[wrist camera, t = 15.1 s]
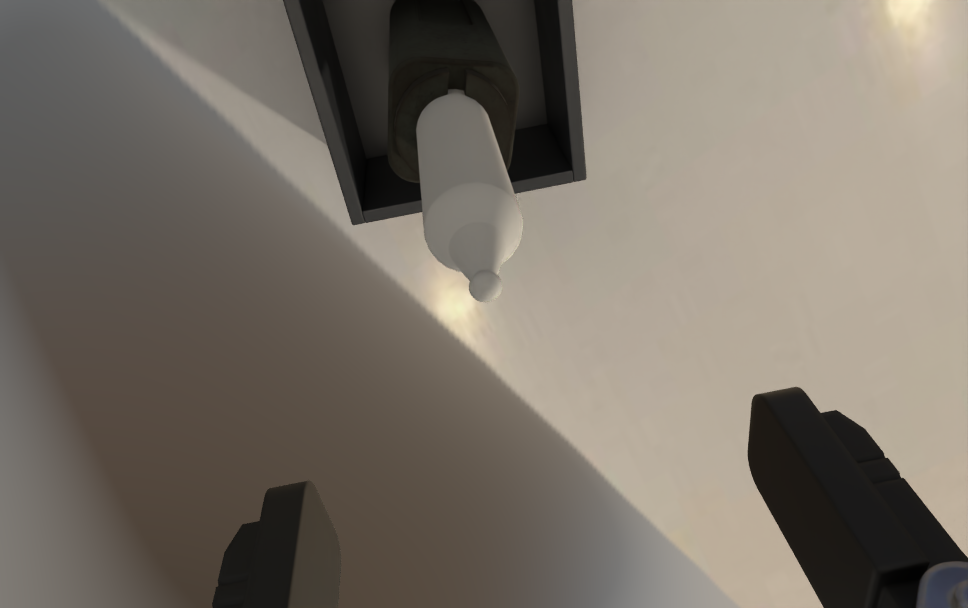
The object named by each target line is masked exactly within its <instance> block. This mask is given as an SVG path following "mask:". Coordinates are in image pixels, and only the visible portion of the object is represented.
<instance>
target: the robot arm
mask: <svg viewBox="0 0 968 608" xmlns="http://www.w3.org/2000/svg"><path fill="white" fill-rule="evenodd" d="M748 461H749V467H750V471H751V474H752V477H753V480H754V482H755V484H756V486H757V488H758V490H759V492H760V494H761V496H762V497H763V499H764V501H765V503H766V505H767V506H768V508H769V510H770V512H771V514H772V515H773V517H774V519H775V521H776V522H777V524H778V526H779V528H780V530H781V531H782V533H783V535H784V537H785V539H786V540H787V542H788V544H789V546H790V548H791V549H792V551H793V553H794V555H795V557H796V558H797V560H798V562H799V564H800V566H801V567H802V569H803V571H804V573H805V575H806V576H807V578H808V580H809V582H810V584H811V585H812V587H813V589H814V591H815V593H816V594H817V596H818V598H819V600H820V602H821V603H822V605H823V607H824V608H968V558H967V556H966V555H965V554H964V553H963V552H962V551H961V550H960V548H959V547H958V546H957V545H956V543H955V542H954V541H953V540H952V538H951V537H950V536H949V535H948V533H947V532H946V531H945V529H944V528H943V527H942V526H941V524H940V523H939V522H938V521H937V519H936V518H935V517H934V516H933V514H932V513H931V512H930V511H929V509H928V508H927V507H926V506H925V504H924V503H923V502H922V500H921V499H920V498H919V497H918V495H917V494H916V493H915V492H914V490H913V489H912V488H911V487H910V485H909V484H908V483H907V482H906V480H905V479H904V478H901V477H900V473H899V471H898V470H897V469H896V468H895V466H894V465H893V464H892V463H891V461H890V460H889V459H888V458H885V456H884V453H883V451H882V450H881V449H880V448H879V446H878V445H877V444H876V442H875V441H874V440H873V439H872V437H871V436H870V435H869V434H868V432H867V431H866V430H865V429H864V428H863V427H861V426H860V425H858V424H857V423H855V422H854V421H852V420H851V419H849V418H848V417H846V416H845V415H843V414H841V413H840V412H838V411H837V410H834V411H829V412H824V413H820V412H819V411H818V409H817V408H816V406H815V405H814V404H813V402H812V401H811V400H810V398H809V397H808V396H807V394H806V393H805V392H804V391H803V390H802V389H801V388H799V387H793V388H788V389H783V390H777V391H772V392H767V393H762V394H757V395H755V396H754V397H753V399H752V406H751V418H750V430H749V442H748ZM340 571H341V553H340V545H339V540H338V536H337V533H336V530H335V528H334V526H333V524H332V521H331V520H330V517H329V515H328V513H327V511H326V509H325V506H324V504H323V502H322V500H321V498H320V495H319V493H318V491H317V489H316V487H315V485H314V484H313V482H312V481H305V482H300V483H295V484H289V485H284V486H279V487H274V488H270V489H268V490H267V492H266V494H265V497H264V502H263V507H262V512H261V517H260V521H258V522H253V523H247V524H243V525H242V526H241V528H240V529H239V531H238V532H237V534H236V535H235V537H234V538H233V540H232V542H231V543H230V545H229V546H228V548H227V549H226V551H225V553H224V557H223V561H222V566H221V570H220V574H219V578H218V584H219V585H218V587H216V591H215V595H214V599H213V603H212V606H213V608H338V599H339V585H340V573H341V572H340Z"/></svg>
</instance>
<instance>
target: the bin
mask: <svg viewBox="0 0 968 608" xmlns="http://www.w3.org/2000/svg"><path fill="white" fill-rule="evenodd" d="M395 1H396V0H283V2H284V5H285V8H286V12H287V15H288V18H289V21H290V25H291V28H292V31H293V34H294V38H295V41H296V44H297V47H298V51H299V54H300V57H301V60H302V64H303V67H304V70H305V73H306V77H307V80H308V83H309V86H310V89H311V93H312V96H313V99H314V102H315V106H316V109H317V112H318V115H319V119H320V122H321V125H322V128H323V132H324V135H325V138H326V141H327V145H328V148H329V151H330V154H331V158H332V161H333V164H334V167H335V170H336V174H337V177H338V180H339V183H340V187H341V190H342V193H343V196H344V200H345V203H346V206H347V209H348V213H349V216H350V219H351V222H352V225H357V224H362V223H365V222H366V223H368V222H373V221H378V220H383V219H388V218H393V217H398V216H404V215H409V214H414V213H419V212H423V211H422V198H421V186H420V183H415V182H409V181H406V180H404V179H402V178H400V177H399V176H398V175H397V174H396V173H395V172H394V171H393V170H392V168H391V166H390V164H389V162H388V155H387V143H388V81H389V31H390V11H391V8H392V6H393V4H394V2H395ZM451 1H461V0H451ZM473 1H475V2H476V3H477V4H478V5H479V6H480V8H481V9H482V11H483V13H484V15H485V17H486V19H487V21H488V23H489V25H490V27H491V29H492V31H493V33H494V34H495V36H496V38H497V40H498V42H499V44H500V46H501V48H502V50H503V52H504V54H505V56H506V58H507V60H508V62H509V64H510V66H511V68H512V70H513V72H514V74H515V76H516V77H517V80H518V84H519V102H518V110H517V118H516V126H515V135H514V143H513V151H512V159H511V163H510V167H509V169H508V171H507V173H508V176H509V179H510V182H511V185H512V188H513V191H514V193H515V194H516V193H521V192H526V191H531V190H536V189H541V188H546V187H551V186H556V185H561V184H567V183H572V182H573V181H574V182H576V181H581V180H586V178H587V177H586V165H585V153H584V140H583V128H582V116H581V104H580V91H579V79H578V67H577V54H576V42H575V30H574V18H573V5H572V0H473Z"/></svg>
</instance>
